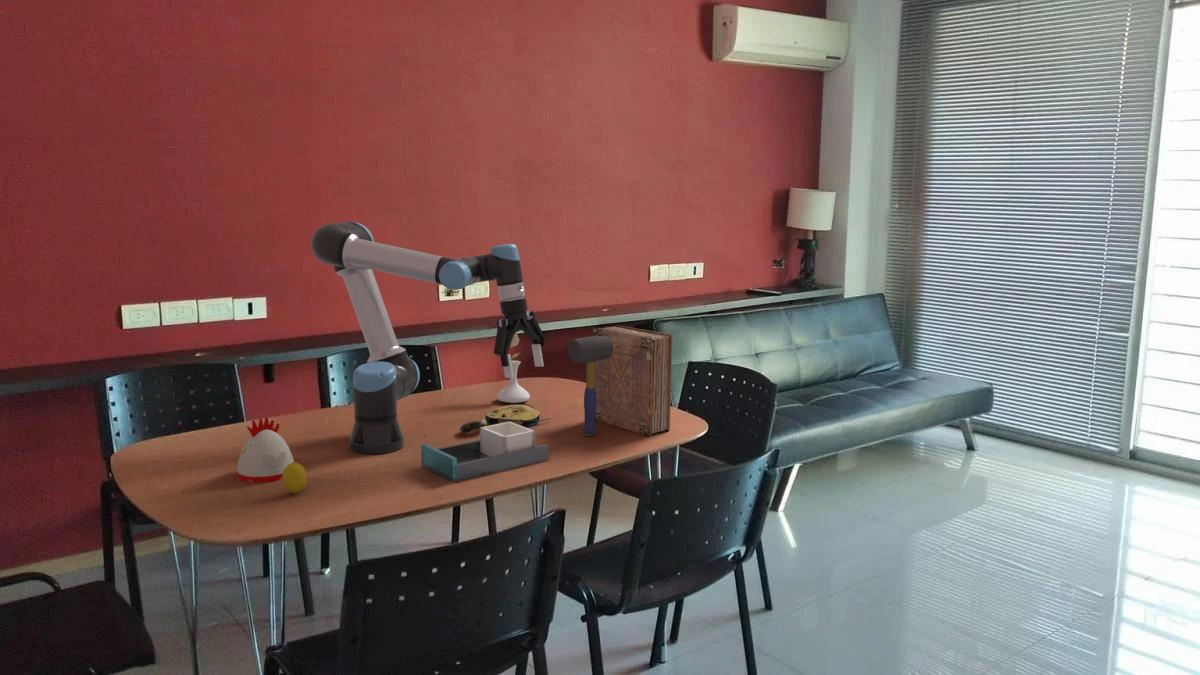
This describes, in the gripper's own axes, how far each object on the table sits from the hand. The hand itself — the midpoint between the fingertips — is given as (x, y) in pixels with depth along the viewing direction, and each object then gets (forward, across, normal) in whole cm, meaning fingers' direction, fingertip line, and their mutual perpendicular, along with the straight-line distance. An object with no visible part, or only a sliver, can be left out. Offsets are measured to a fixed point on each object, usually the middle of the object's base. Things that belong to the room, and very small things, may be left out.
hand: (524, 371), depth 258 cm
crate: (+19, -16, -3) cm, 25 cm away
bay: (+20, -23, -1) cm, 30 cm away
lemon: (+14, -68, +20) cm, 72 cm away
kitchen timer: (+12, -63, +38) cm, 74 cm away
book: (+25, +32, -11) cm, 42 cm away
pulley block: (+19, +8, +20) cm, 29 cm away
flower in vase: (+18, +34, +38) cm, 54 cm away
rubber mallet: (+24, +16, -7) cm, 30 cm away
